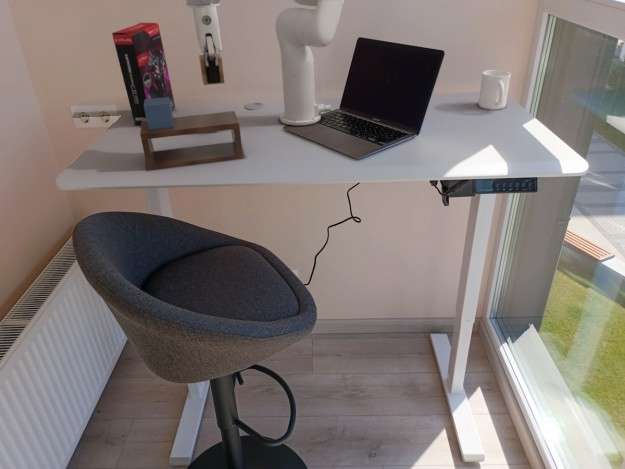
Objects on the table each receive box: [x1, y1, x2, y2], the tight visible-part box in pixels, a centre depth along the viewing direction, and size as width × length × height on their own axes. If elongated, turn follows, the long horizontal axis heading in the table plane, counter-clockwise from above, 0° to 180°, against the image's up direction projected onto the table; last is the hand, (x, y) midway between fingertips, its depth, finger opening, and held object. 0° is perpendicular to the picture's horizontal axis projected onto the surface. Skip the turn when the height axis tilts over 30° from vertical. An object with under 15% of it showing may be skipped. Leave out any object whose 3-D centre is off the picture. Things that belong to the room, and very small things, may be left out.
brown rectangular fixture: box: [139, 110, 244, 171], centre depth 131 cm, size 24×10×10 cm, turn 104°
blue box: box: [144, 97, 174, 130], centre depth 126 cm, size 6×6×6 cm
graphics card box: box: [111, 21, 176, 126], centre depth 156 cm, size 17×7×27 cm, turn 168°
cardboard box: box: [198, 53, 225, 86], centre depth 123 cm, size 5×5×6 cm
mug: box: [478, 69, 512, 111], centre depth 157 cm, size 12×8×10 cm
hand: (213, 79), depth 125 cm, fingers closed on cardboard box, 5 cm apart
